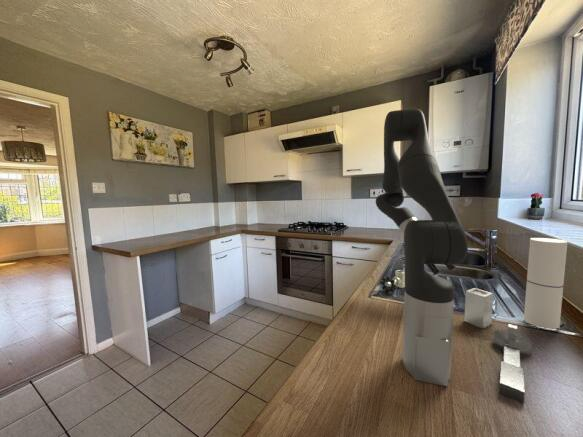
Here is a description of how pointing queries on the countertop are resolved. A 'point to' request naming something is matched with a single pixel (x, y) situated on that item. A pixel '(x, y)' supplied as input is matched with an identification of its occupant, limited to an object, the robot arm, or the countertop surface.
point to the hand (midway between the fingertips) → (445, 271)
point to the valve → (394, 281)
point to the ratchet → (512, 361)
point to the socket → (478, 307)
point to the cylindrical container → (545, 282)
